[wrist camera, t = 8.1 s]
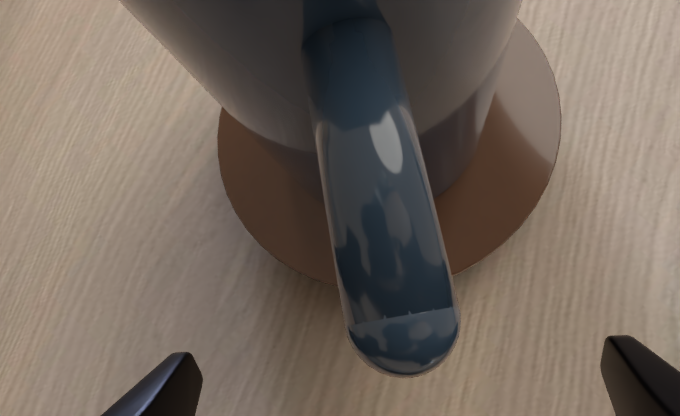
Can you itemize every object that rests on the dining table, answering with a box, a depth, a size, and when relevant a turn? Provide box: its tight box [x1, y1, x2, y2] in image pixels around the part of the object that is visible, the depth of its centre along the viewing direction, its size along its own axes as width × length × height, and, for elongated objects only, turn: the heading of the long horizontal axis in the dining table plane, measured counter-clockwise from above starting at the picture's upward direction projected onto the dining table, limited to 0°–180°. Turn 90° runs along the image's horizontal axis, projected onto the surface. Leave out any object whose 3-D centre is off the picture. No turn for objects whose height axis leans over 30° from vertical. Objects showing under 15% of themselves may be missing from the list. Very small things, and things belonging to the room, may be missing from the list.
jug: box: [119, 0, 561, 378], centre depth 11 cm, size 16×14×14 cm
